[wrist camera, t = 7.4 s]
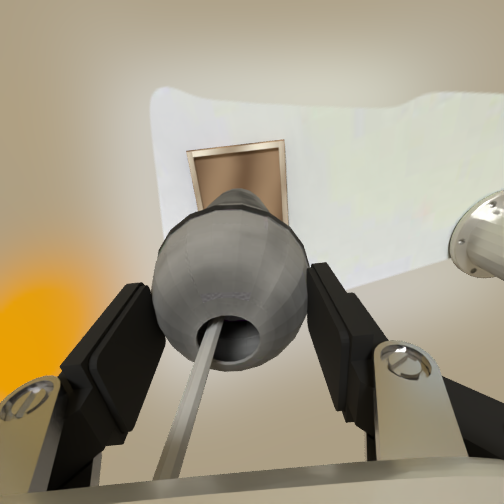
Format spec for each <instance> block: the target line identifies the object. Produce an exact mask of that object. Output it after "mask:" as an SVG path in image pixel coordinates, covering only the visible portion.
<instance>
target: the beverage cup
mask: <svg viewBox="0 0 504 504" xmlns="http://www.w3.org/2000/svg"><path fill="white" fill-rule="evenodd" d="M307 268H310V266H309V263H308V259H307V256H306V252H305V249H304V245H303V244H302V243H301V241H300V240H299V239H298V237H297V236H296V234H295V233H294V232H293V230H292V229H291V228H290V226H288V225H287V224H285V223H284V222H282V221H281V220H280V219H278V218H277V217H275V216H274V215H272V214H271V213H270V212H269V211H268V209H267V208H266V206H265V205H264V204H263V202H262V201H261V200H260V198H259V197H257V196H256V195H255V194H254V193H252V192H251V191H249V190H246V189H242V188H237V189H231V190H228V191H226V192H224V193H222V194H221V195H220V196H219V197H217V198H216V199H215V200H214V201H213V202H212V203H211V204H210V205H209V206H208V207H207V208H206V209H203V210H200V211H198V212H195V213H192V214H190V215H188V216H187V217H186V218H185V219H183V220H182V221H181V222H180V223H179V224H177V225H176V226H175V227H174V228H172V229H171V230H170V232H169V233H168V235H167V237H166V239H165V240H164V242H163V244H162V245H161V247H160V249H159V252H158V259H157V261H156V265H155V270H154V276H153V282H152V289H151V294H152V302H153V306H154V310H155V314H156V318H157V322H158V325H159V327H160V328H161V330H162V332H163V333H164V335H165V336H166V338H167V339H168V341H169V342H170V344H171V345H172V346H173V347H174V348H175V349H176V350H177V351H179V352H180V353H181V354H182V355H183V356H184V357H186V358H187V359H188V360H190V361H192V362H194V365H193V368H192V371H191V374H190V376H189V379H188V382H187V385H186V388H185V391H184V393H183V396H182V399H181V401H180V404H179V407H178V410H177V413H176V416H175V418H174V421H173V424H172V427H171V429H170V432H169V435H168V438H167V441H166V443H165V446H164V449H163V452H162V455H161V457H160V460H159V463H158V466H157V469H156V471H155V474H154V477H153V480H152V481H156V480H167V479H177V478H178V477H179V474H180V470H181V467H182V463H183V459H184V456H185V453H186V449H187V446H188V442H189V439H190V435H191V432H192V429H193V425H194V421H195V418H196V414H197V411H198V408H199V404H200V401H201V397H202V394H203V390H204V387H205V383H206V380H207V377H208V373H209V369H213V370H218V371H224V372H226V371H242V370H246V369H250V368H253V367H257V366H260V365H262V364H264V363H266V362H267V361H269V360H271V359H273V358H274V357H276V356H277V355H279V354H280V353H281V352H282V351H283V350H284V349H285V348H286V347H287V346H288V345H289V343H290V342H291V341H292V340H293V339H294V338H295V337H296V335H297V333H298V331H299V329H300V327H301V325H302V323H303V321H304V319H305V316H306V314H307V303H308V293H307V276H306V270H307Z"/></svg>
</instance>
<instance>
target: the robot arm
mask: <svg viewBox="0 0 504 504" xmlns="http://www.w3.org/2000/svg"><path fill="white" fill-rule="evenodd" d="M450 254H451V258H452V260H453V263H454V264H455V265H456V266H457V267H458V268H459V269H460V270H461V271H463V272H465V273H466V274H468V275H470V276H474V277H477V278H491V277H498V278H500V279H501V280H503V281H504V190H502V191H499V192H496V193H494V194H492V195H490V196H487V197H486V198H484V199H483V200H481V201H479V202H478V203H477V204H476V205H474V206H473V207H472V208H471V209H470V210H469V211H468V212H467V213H466V214H465V215H464V216H463V217H462V219H461V220H460V222H459V223H458V224H457V226H456V228H455V230H454V232H453V235H452V238H451V242H450ZM306 276H307V293H308V303H307V323H308V329H309V332H310V336H311V339H312V341H313V345H314V348H315V350H316V353H317V356H318V359H319V362H320V365H321V368H322V371H323V374H324V377H325V380H326V383H327V386H328V389H329V392H330V395H331V398H332V401H333V404H334V407H335V409H336V411H342V413H343V416H344V419H345V421H346V423H347V422H355V425H356V426H358V427H359V428H360V429H362V430H364V436H365V462H353V463H342V464H331V465H320V466H308V467H297V468H286V469H274V470H263V471H252V472H241V473H230V474H220V475H209V476H198V477H188V478H177V479H167V480H156V481H146V482H135V483H125V484H115V485H106V486H99V479H100V469H101V459H102V451H103V450H104V448H105V446H111V445H121V444H124V441H125V439H126V436H127V434H128V432H130V431H132V430H133V428H134V426H135V423H136V421H137V418H138V416H139V413H140V410H141V408H142V405H143V403H144V400H145V397H146V395H147V392H148V389H149V387H150V384H151V381H152V379H153V376H154V374H155V371H156V368H157V366H158V363H159V361H160V358H161V355H162V353H163V350H164V347H165V342H166V339H165V335H164V333H163V332H162V330H161V328H160V327H159V325H158V322H157V318H156V314H155V310H154V306H153V302H152V294H151V291H150V289H149V287H148V286H147V285H146V286H145V285H144V284H143V283H142V282H141V283H131V284H126V285H125V286H124V287H123V289H122V290H121V291H120V292H119V294H118V295H117V296H116V297H115V299H114V300H113V301H112V302H111V303H110V305H109V306H108V307H107V308H106V310H105V311H104V312H103V313H102V315H101V316H100V317H99V318H98V320H97V321H96V322H95V323H94V325H93V326H92V327H91V328H90V329H89V331H88V332H87V333H86V334H85V336H84V337H83V338H82V339H81V341H80V342H79V343H78V344H77V345H76V347H75V348H74V349H73V350H72V352H71V353H70V354H69V355H68V357H67V358H66V359H65V360H64V361H63V363H62V364H61V365H60V368H61V370H62V372H61V373H60V374H59V376H58V377H55V376H43V377H40V378H36V379H34V380H32V381H29V382H27V383H25V384H24V385H22V386H20V387H19V388H17V389H16V390H15V391H13V392H12V393H11V394H9V395H8V396H7V397H6V398H5V399H4V400H3V401H2V402H1V403H0V504H504V403H502V402H499V401H497V400H495V399H493V398H490V397H488V396H486V395H484V394H481V393H479V392H477V391H475V390H472V389H470V388H468V387H466V386H463V385H461V384H459V383H457V382H454V381H452V380H450V379H448V378H445V377H443V376H442V375H441V373H440V369H439V367H438V365H437V363H436V362H435V360H434V359H433V358H432V357H431V356H430V355H429V354H428V353H427V352H426V351H424V350H423V349H421V348H420V347H418V346H415V345H413V344H411V343H407V342H403V341H394V340H391V341H389V340H388V339H387V338H386V336H385V335H384V333H383V332H382V331H381V330H380V328H379V326H378V325H377V324H376V322H375V321H374V320H373V318H372V317H371V315H370V314H369V312H368V311H367V310H366V308H365V307H364V306H363V304H362V303H361V302H360V300H359V298H357V296H356V295H355V294H354V293H347V292H346V291H345V289H344V288H343V286H342V285H341V283H340V282H339V280H338V279H337V277H336V276H335V274H334V273H333V271H332V270H331V268H330V267H329V265H328V264H327V263H326V262H325V263H315V264H312V265H311V268H307V270H306Z"/></svg>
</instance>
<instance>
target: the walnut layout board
mask: <svg viewBox="0 0 504 504" xmlns="http://www.w3.org/2000/svg"><path fill="white" fill-rule="evenodd" d="M186 152H187V157H188V162H189V167H190V172H191V177H192V182H193V187H194V192H195V197H196V202H197V207H198V211H200V210H203V209H206V208H207V207H208V206H209V205H210V204H211V203H212V202H213V201H214V200H215V199H216V198H217V197H219V196H220V195H221V194H222V193H224V192H226V191H228V190H231V189H237V188H242V189H246V190H249V191H251V192H252V193H254V194H255V195H256V196H257V197H259V198H260V200H261V201H262V202H263V204H264V205H265V206H266V208H267V209H268V211H269V212H270V213H271V214H272V215H274V216H275V217H277V218H278V219H280V220H281V221H282V222H284V223H285V224H287V225H288V226H289V224H288V204H287V184H286V163H285V143H284V140H275V141H266V142H258V143H249V144H241V145H232V146H224V147H215V148H207V149H198V150H190V151H186Z"/></svg>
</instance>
